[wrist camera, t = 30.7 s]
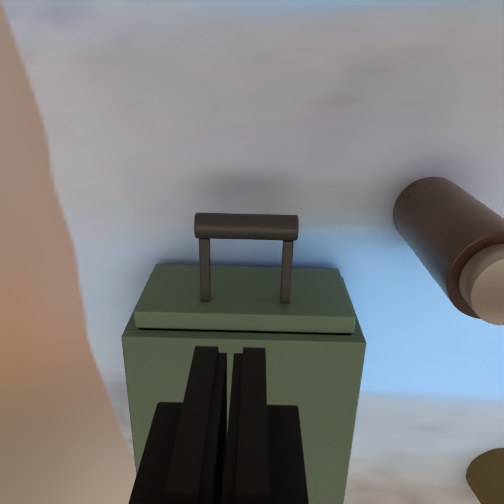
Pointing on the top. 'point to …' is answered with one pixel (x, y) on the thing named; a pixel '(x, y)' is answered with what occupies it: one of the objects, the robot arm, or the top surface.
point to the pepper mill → (456, 244)
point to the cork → (488, 477)
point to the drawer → (245, 287)
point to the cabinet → (277, 382)
